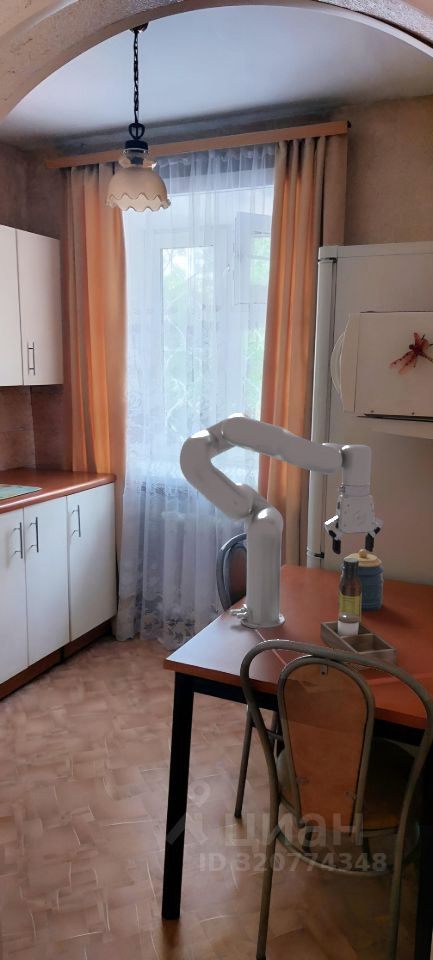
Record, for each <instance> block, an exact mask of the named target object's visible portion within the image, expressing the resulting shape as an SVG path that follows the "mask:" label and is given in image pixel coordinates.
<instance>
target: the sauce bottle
mask: <svg viewBox="0 0 433 960" xmlns="http://www.w3.org/2000/svg"><path fill="white" fill-rule="evenodd" d="M344 558H345V557H344ZM344 558H343V564H344V575H343V577H342V580H341V579H340V583H339V585H338V604H337V605H338V607H337V608H338V609H337V610H338V612H337V615H338V614H339V613H342V612H351V613H355V614H357V615H359V621H360V622H361V623H362V612H361V598H362V592H361V587H362V585H361V581H360V579H359V578H358V576H357V575H358V564H359V560H358V559H355V558H345V559H344Z"/></svg>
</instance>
